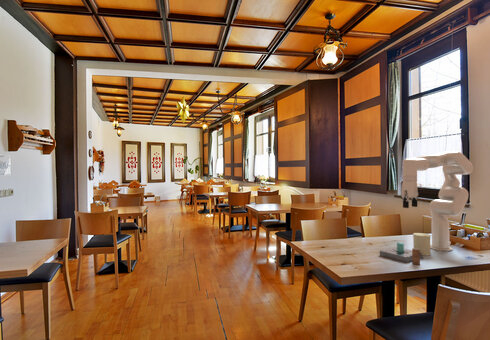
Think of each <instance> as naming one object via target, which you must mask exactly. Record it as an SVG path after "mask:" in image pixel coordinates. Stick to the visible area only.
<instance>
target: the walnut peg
mask: <svg viewBox="0 0 490 340" xmlns="http://www.w3.org/2000/svg"><path fill="white" fill-rule="evenodd" d="M411 250H412V261H411V263H412V265H415V266H420V265H421V258H420V249H416V248H414V247H413V248H412V249H411Z"/></svg>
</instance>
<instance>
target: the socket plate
mask: <svg viewBox="0 0 490 340" xmlns="http://www.w3.org/2000/svg"><path fill="white" fill-rule="evenodd" d="M379 257H383V258H387V259H391V260H395V261H398V262H403V263H406V264H407V263H410V262H411V263H412V249H407V248H404V253H399V252H397V246H392V247H388V248H385V249H381V250H379ZM422 258H423V255H422V253H421V252H420V259H422Z"/></svg>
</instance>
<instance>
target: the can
mask: <svg viewBox="0 0 490 340" xmlns="http://www.w3.org/2000/svg"><path fill="white" fill-rule="evenodd" d="M412 234H413V235H412V237H413V245H412V246H413V248H416V249H420V252H421V253H422V256H431V248H430V245H431V237H432V234H428V233H423V232H413V233H412Z"/></svg>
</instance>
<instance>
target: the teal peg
mask: <svg viewBox="0 0 490 340" xmlns="http://www.w3.org/2000/svg"><path fill="white" fill-rule="evenodd" d="M404 246H405V244H404V243H403V242H397V243H396V247H397V252H399V253H404V249H405V247H404Z"/></svg>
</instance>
